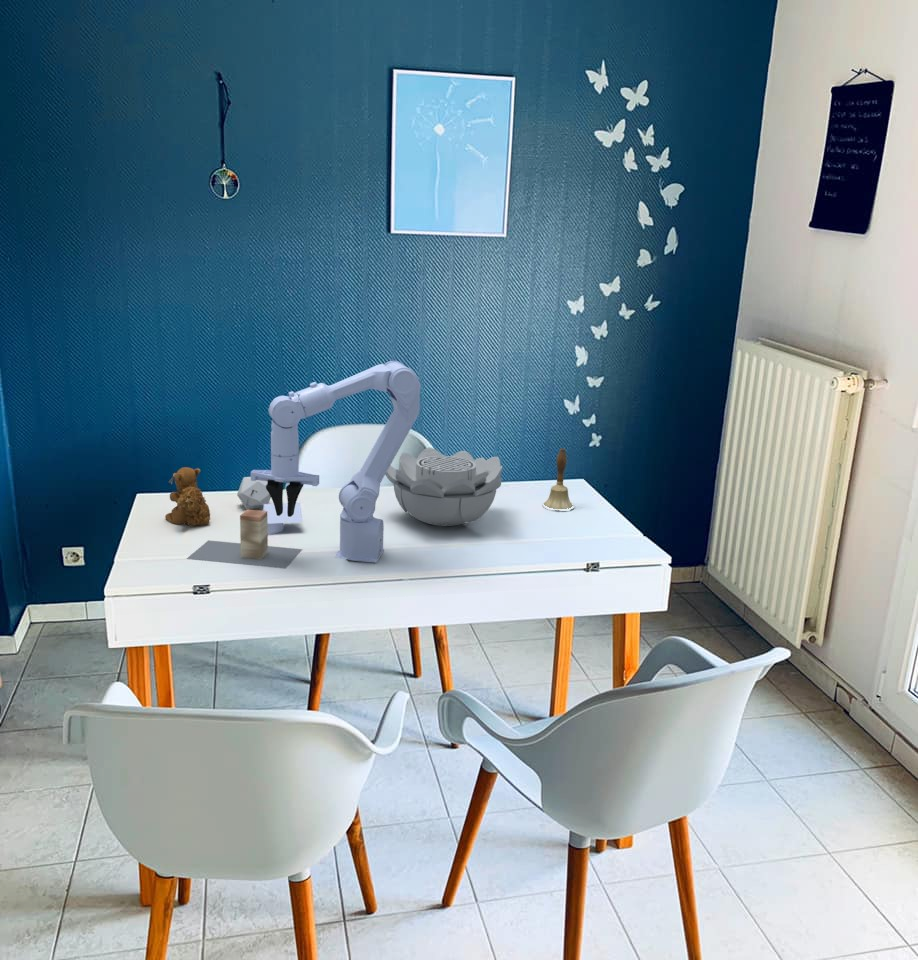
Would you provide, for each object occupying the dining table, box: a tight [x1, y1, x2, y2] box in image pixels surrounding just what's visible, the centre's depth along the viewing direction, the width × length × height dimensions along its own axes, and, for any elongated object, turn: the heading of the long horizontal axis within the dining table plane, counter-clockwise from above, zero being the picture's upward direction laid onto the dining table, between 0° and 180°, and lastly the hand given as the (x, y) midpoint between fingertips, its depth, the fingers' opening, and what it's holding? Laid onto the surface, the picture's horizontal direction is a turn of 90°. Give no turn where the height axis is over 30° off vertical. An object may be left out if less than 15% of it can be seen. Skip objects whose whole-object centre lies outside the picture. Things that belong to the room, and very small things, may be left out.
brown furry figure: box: [164, 466, 211, 528], centre depth 226 cm, size 10×14×13 cm
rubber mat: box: [186, 540, 303, 569], centre depth 208 cm, size 22×12×1 cm, turn 82°
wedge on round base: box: [261, 502, 304, 536], centre depth 224 cm, size 9×7×13 cm
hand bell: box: [543, 448, 574, 509], centre depth 251 cm, size 8×8×16 cm
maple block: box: [239, 509, 269, 559], centre depth 206 cm, size 4×4×10 cm
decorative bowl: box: [385, 447, 503, 527], centre depth 236 cm, size 30×30×15 cm
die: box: [236, 476, 272, 510], centre depth 241 cm, size 8×9×10 cm
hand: (285, 514), depth 204 cm, fingers closed
